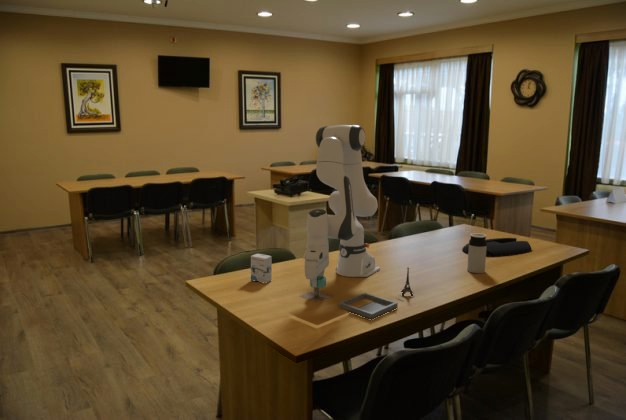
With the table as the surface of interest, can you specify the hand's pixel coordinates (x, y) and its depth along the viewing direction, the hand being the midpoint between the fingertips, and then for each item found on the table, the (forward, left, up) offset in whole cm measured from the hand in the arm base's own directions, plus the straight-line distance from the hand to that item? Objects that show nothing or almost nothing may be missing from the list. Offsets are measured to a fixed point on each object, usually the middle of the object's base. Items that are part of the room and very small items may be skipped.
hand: (317, 283), depth 199 cm
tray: (-5, +22, -7) cm, 23 cm away
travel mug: (-79, +29, -7) cm, 85 cm away
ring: (0, 0, -1) cm, 1 cm away
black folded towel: (-124, +18, -7) cm, 126 cm away
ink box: (+3, -33, -7) cm, 34 cm away
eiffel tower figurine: (-30, +23, -7) cm, 38 cm away
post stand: (+1, 0, -7) cm, 7 cm away
